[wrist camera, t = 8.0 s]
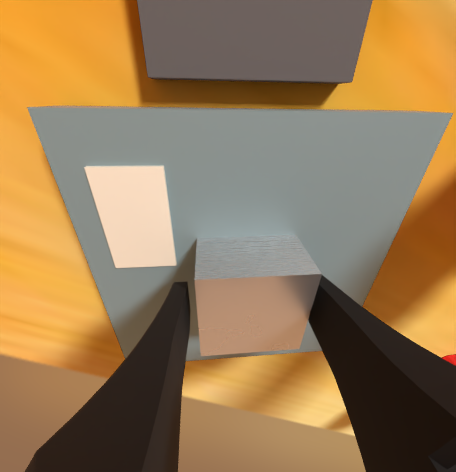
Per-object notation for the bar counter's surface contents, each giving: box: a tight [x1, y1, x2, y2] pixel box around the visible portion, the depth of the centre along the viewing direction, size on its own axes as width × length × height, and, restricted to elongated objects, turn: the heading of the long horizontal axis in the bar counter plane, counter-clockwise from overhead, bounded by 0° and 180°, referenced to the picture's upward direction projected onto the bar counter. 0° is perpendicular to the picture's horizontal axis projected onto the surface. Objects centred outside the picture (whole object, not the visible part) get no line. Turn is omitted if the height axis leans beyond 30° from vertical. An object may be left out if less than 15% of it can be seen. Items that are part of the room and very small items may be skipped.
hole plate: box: [27, 106, 453, 361], centre depth 13 cm, size 16×16×2 cm
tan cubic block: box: [194, 235, 322, 356], centre depth 12 cm, size 5×5×5 cm
